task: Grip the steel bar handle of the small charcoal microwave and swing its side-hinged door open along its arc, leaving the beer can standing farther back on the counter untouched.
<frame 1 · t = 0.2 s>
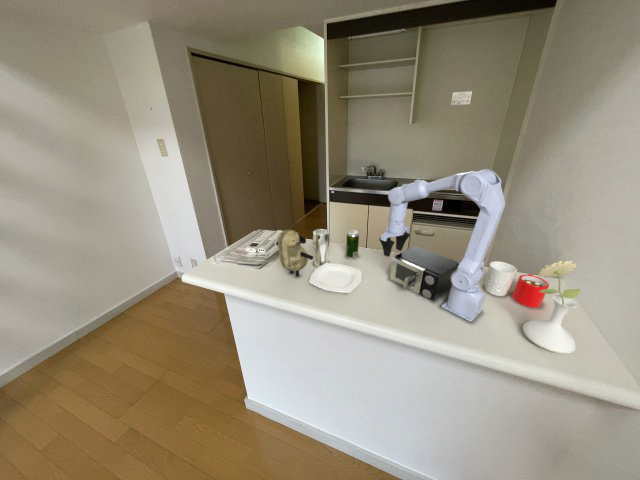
hand: (392, 252, 99), 10 cm above the countertop, tool pointing down, fingers open, 7 cm apart
beer can: (351, 256, 118), on the countertop
microwave: (422, 281, 99), on the countertop
microwave door: (402, 276, 93), point 5 cm above the countertop, hinge at 0.0°
figurine: (294, 274, 104), on the countertop
plate: (336, 280, 100), on the countertop
white cup: (495, 291, 93), on the countertop
flower in vase: (541, 340, 72), on the countertop
beer glass: (321, 263, 112), on the countertop
mug: (524, 297, 90), on the countertop
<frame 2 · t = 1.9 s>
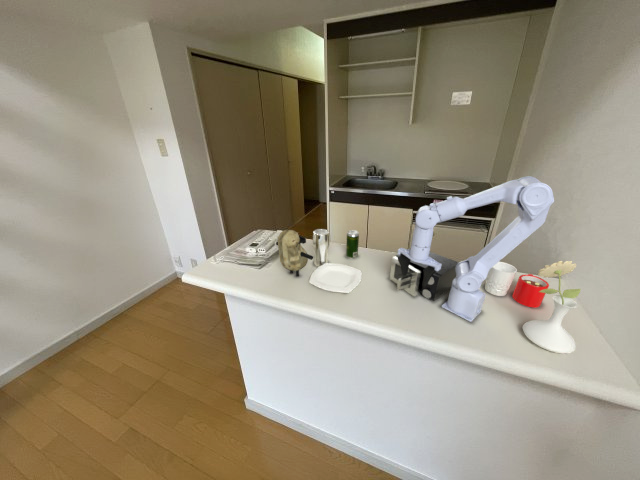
hand: (414, 280, 87), 7 cm above the countertop, tool pointing down, fingers open, 7 cm apart
microwave door: (398, 277, 92), point 5 cm above the countertop, hinge at 12.6°, touching gripper
everything else where it was.
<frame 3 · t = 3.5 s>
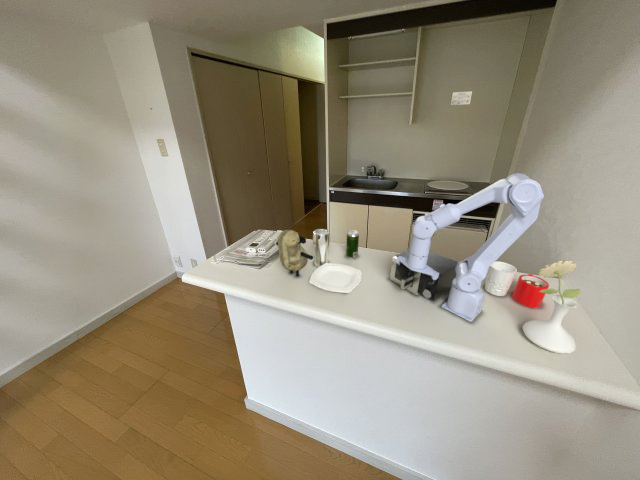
hand: (412, 287, 88), 4 cm above the countertop, tool pointing down, fingers open, 6 cm apart
microwave door: (400, 277, 92), point 5 cm above the countertop, hinge at 6.1°, touching gripper
everything else where it was.
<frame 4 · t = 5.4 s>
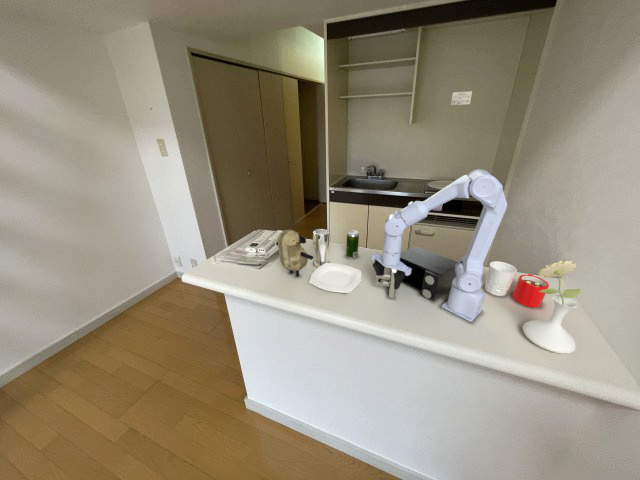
hand: (388, 284, 90), 4 cm above the countertop, tool pointing down, fingers closed on microwave door, 6 cm apart
microwave door: (385, 275, 94), point 5 cm above the countertop, hinge at 53.4°, touching gripper
everything else where it was.
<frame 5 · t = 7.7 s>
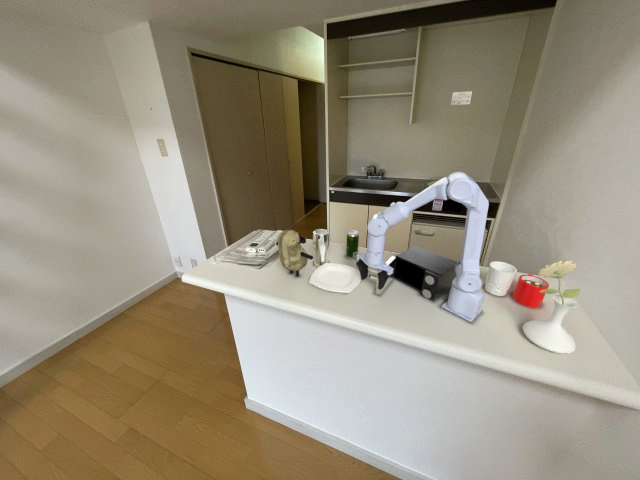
hand: (372, 283, 92), 3 cm above the countertop, tool pointing down, fingers open, 7 cm apart
microwave door: (379, 272, 95), point 5 cm above the countertop, hinge at 75.6°, touching gripper
everything else where it was.
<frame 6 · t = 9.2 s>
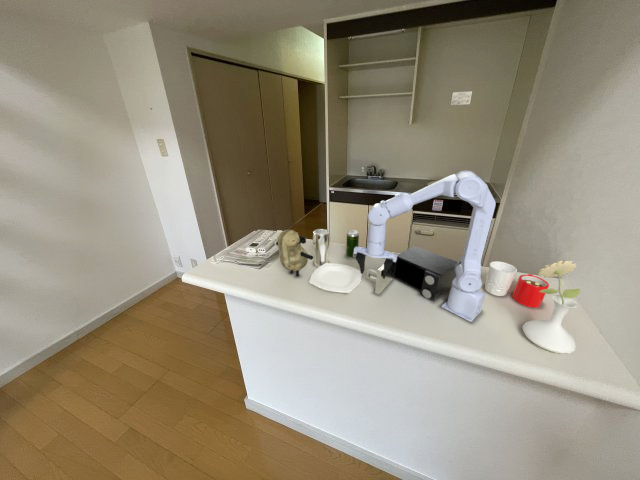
hand: (373, 274, 91), 7 cm above the countertop, tool pointing down, fingers open, 7 cm apart
microwave door: (379, 272, 95), point 5 cm above the countertop, hinge at 76.7°, touching gripper
everything else where it was.
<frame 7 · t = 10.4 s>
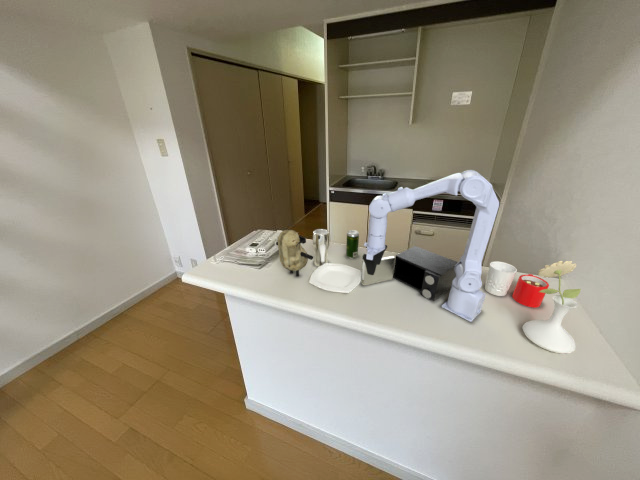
hand: (373, 268, 89), 9 cm above the countertop, tool pointing down, fingers open, 7 cm apart
microwave door: (374, 267, 99), point 5 cm above the countertop, hinge at 110.2°
everything else where it was.
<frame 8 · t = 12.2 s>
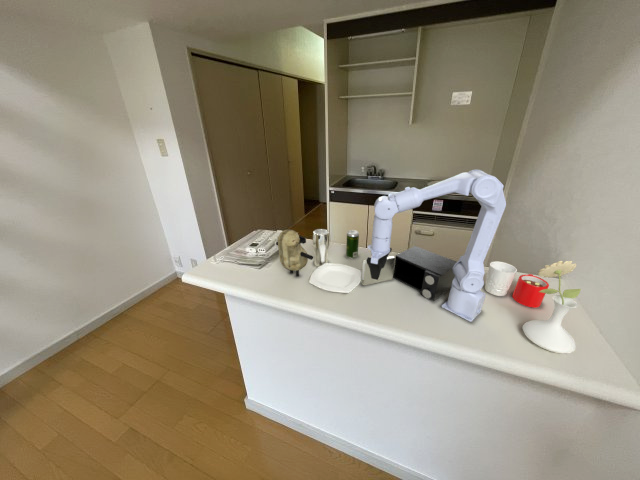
hand: (377, 272, 85), 10 cm above the countertop, tool pointing down, fingers open, 7 cm apart
nothing on the countertop moved.
at the end: microwave door at +110° (first picture: +0°); beer can moved 0.2 cm from its start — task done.
